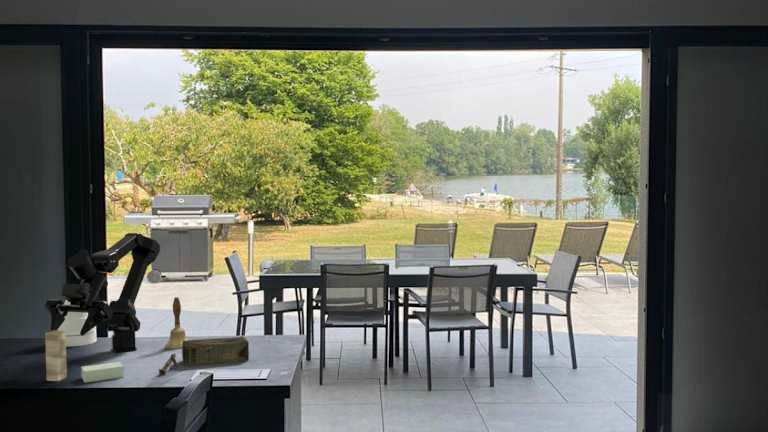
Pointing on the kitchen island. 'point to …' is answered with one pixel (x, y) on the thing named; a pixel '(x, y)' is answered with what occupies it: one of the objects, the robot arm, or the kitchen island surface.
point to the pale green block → (102, 372)
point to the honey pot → (77, 329)
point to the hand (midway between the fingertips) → (66, 334)
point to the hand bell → (176, 328)
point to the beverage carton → (215, 351)
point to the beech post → (56, 355)
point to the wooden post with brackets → (172, 357)
